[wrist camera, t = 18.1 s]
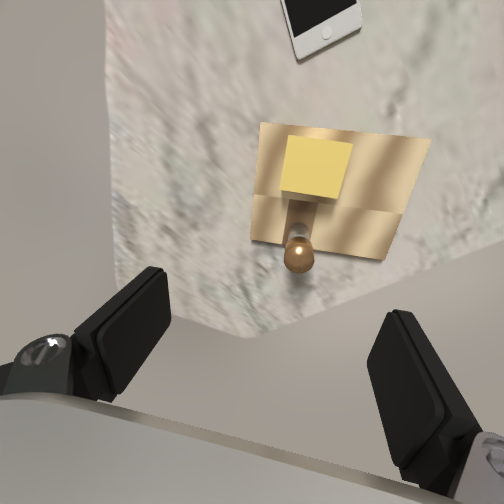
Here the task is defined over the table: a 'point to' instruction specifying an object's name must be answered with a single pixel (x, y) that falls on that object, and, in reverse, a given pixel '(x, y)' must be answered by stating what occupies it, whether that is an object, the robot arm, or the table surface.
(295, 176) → the yellow rectangular block
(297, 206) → the subfloor panel
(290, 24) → the smartphone
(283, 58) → the table surface
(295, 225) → the two-tone metal cylinder
